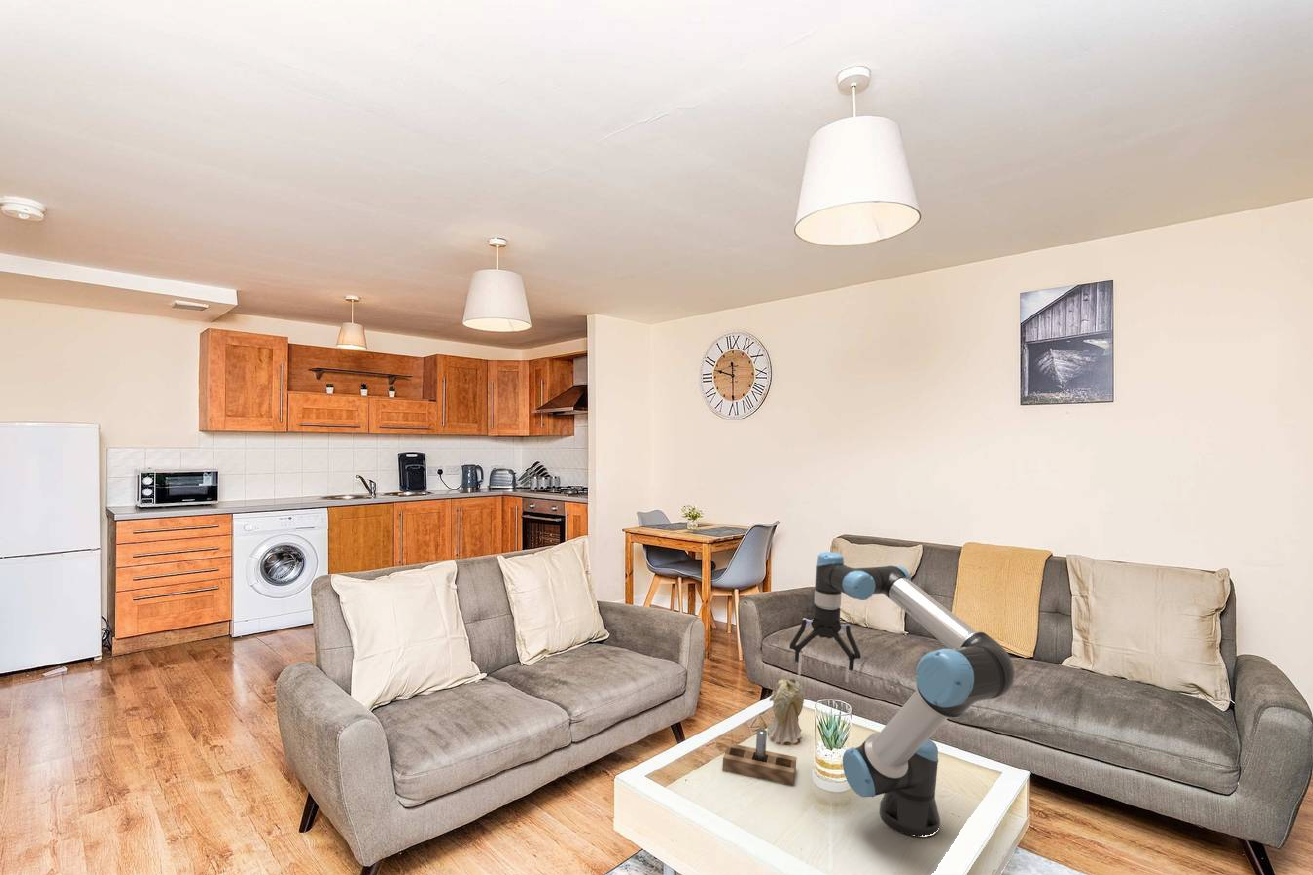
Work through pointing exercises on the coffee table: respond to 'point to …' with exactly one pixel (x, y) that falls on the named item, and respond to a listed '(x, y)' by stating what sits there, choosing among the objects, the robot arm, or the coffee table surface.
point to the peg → (761, 745)
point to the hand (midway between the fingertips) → (823, 676)
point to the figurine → (786, 713)
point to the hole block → (759, 764)
